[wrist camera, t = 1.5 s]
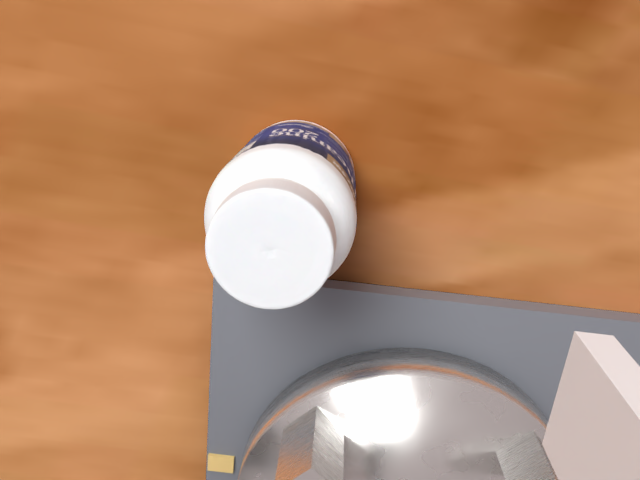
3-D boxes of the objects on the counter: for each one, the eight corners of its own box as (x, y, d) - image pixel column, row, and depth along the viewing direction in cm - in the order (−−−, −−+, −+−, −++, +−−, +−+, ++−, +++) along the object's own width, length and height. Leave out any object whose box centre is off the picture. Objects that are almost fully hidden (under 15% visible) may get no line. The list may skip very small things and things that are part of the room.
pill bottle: (378, 162, 26) (394, 232, 17) (312, 251, 28) (293, 359, 18) (280, 92, 25) (241, 126, 16) (217, 189, 27) (149, 269, 18)
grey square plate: (205, 590, 36) (200, 608, 34) (218, 267, 28) (212, 276, 27) (540, 629, 35) (546, 649, 34) (644, 314, 28) (656, 326, 27)
